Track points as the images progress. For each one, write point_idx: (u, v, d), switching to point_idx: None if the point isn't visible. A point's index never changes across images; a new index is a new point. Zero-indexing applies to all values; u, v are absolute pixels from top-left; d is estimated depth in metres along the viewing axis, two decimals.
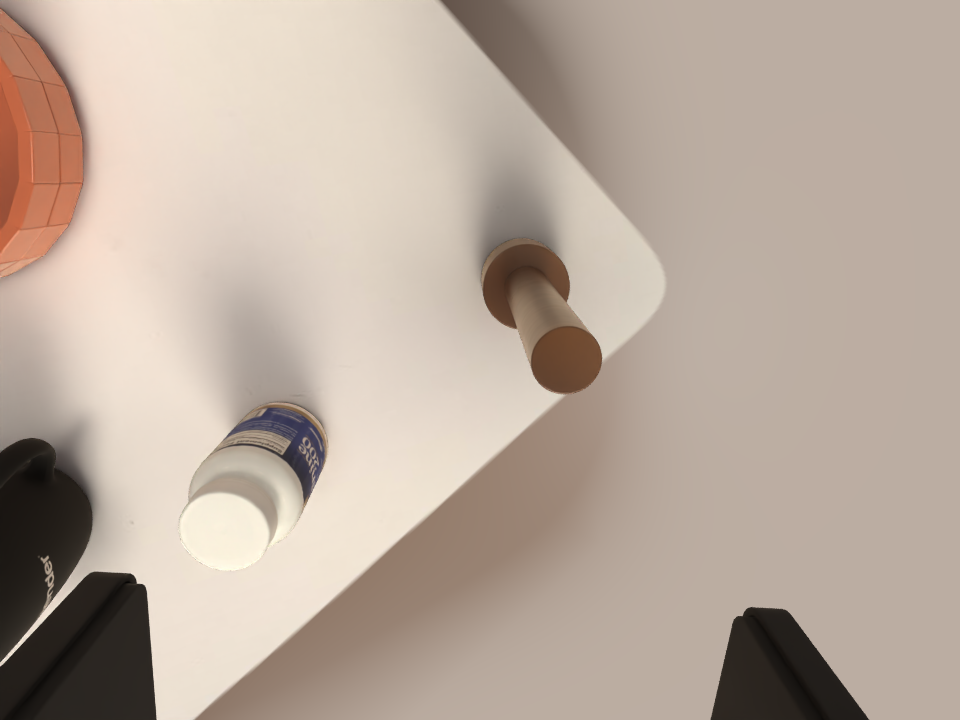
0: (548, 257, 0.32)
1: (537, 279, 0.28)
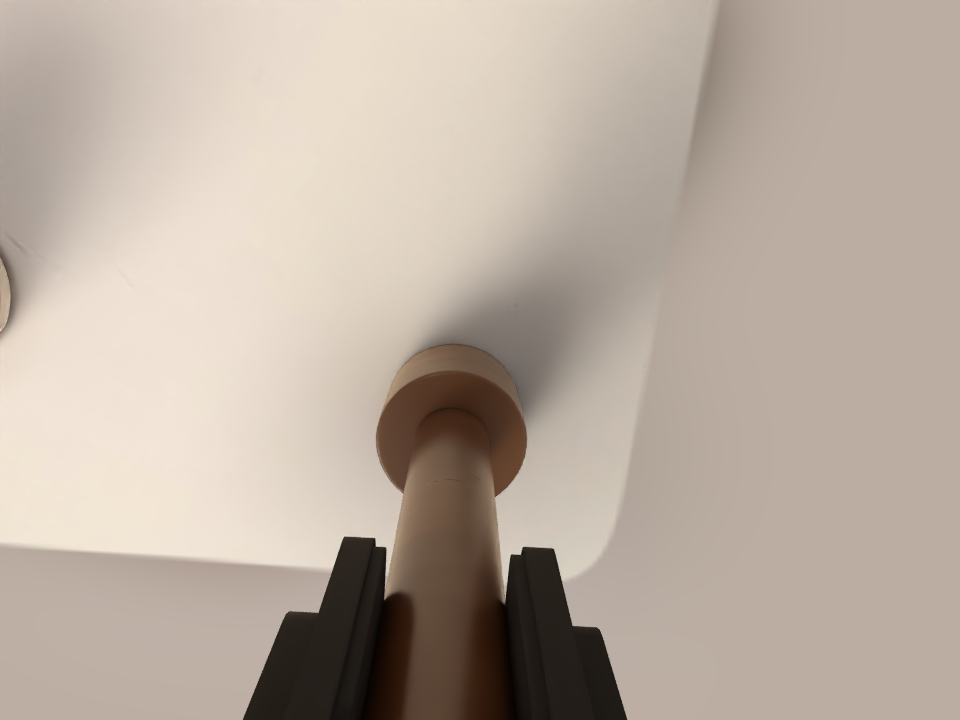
0: (515, 437, 0.18)
1: (487, 490, 0.14)
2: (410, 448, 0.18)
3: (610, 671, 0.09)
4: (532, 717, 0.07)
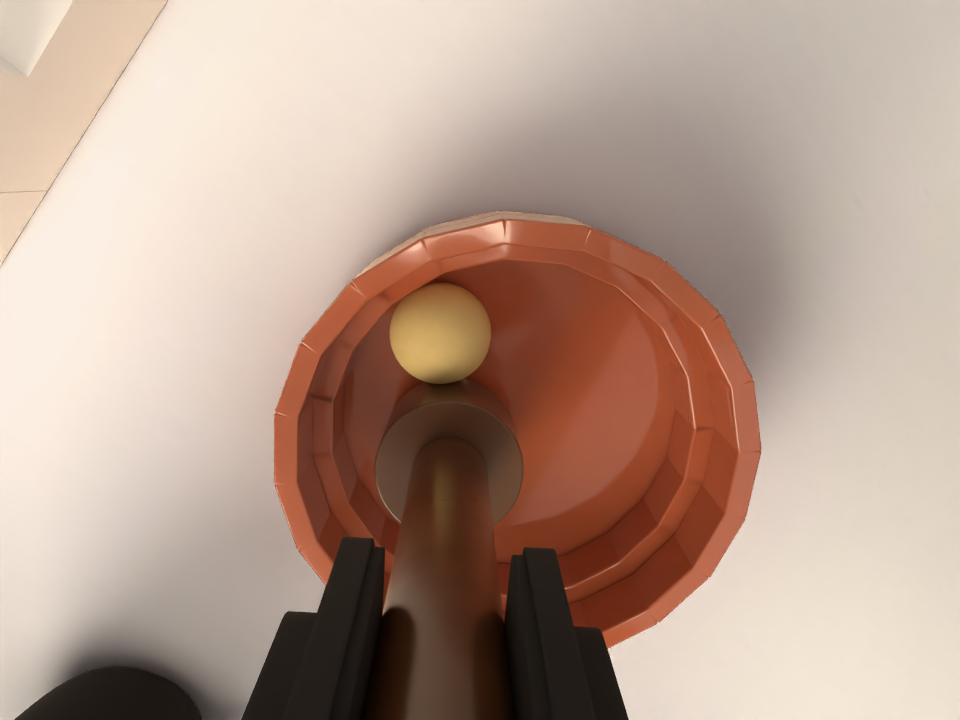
0: (511, 462, 0.19)
1: (482, 510, 0.14)
2: (408, 479, 0.19)
3: (611, 671, 0.09)
4: (534, 717, 0.07)
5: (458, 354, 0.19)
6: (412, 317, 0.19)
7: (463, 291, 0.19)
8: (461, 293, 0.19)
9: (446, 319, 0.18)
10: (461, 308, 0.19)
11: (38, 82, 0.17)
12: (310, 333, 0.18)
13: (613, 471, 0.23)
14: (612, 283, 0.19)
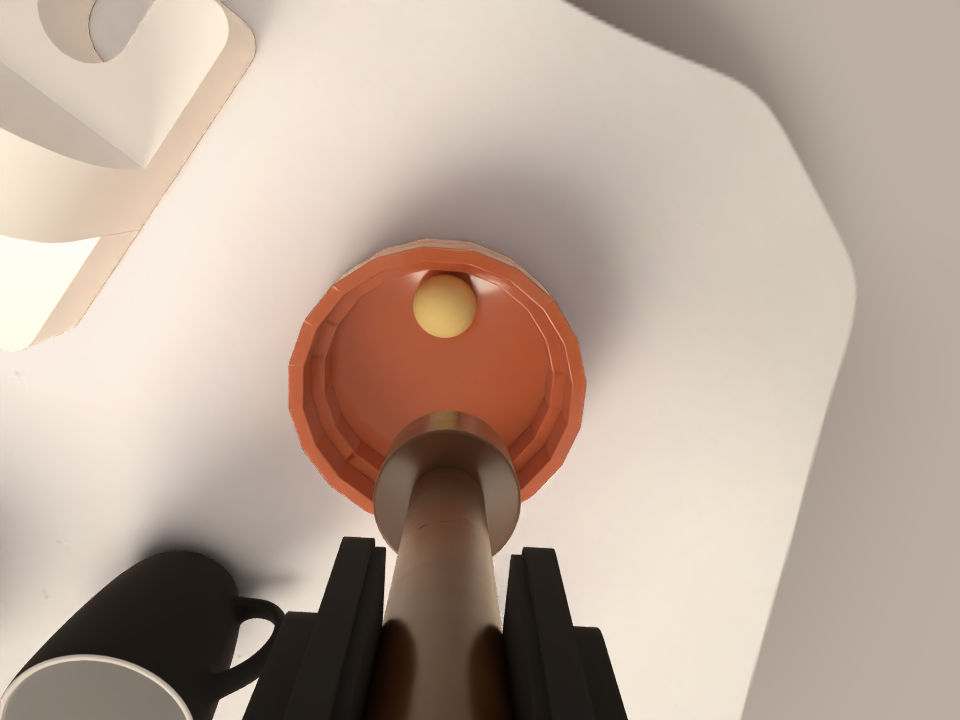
0: (508, 491, 0.19)
1: (480, 531, 0.15)
2: (407, 511, 0.19)
3: (611, 671, 0.09)
4: (533, 717, 0.07)
5: None
6: (454, 311, 0.31)
7: (444, 278, 0.31)
8: (448, 279, 0.31)
9: (465, 295, 0.31)
10: (460, 284, 0.31)
11: (148, 170, 0.29)
12: (310, 315, 0.30)
13: (510, 406, 0.35)
14: (495, 283, 0.31)
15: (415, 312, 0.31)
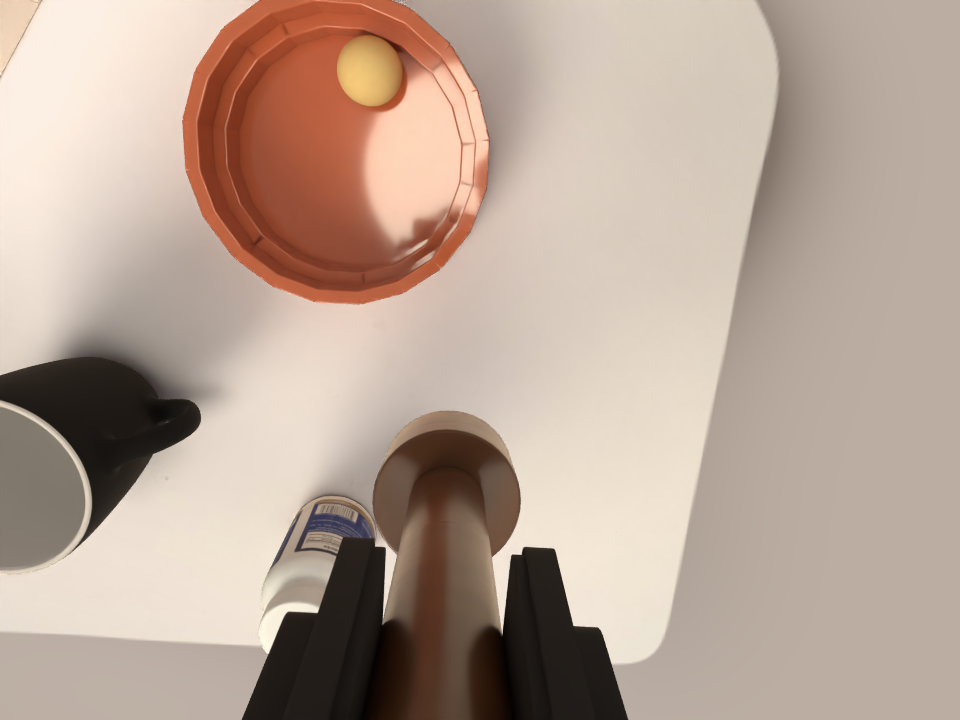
0: (508, 492, 0.19)
1: (480, 531, 0.15)
2: (406, 511, 0.19)
3: (611, 671, 0.09)
4: (533, 717, 0.07)
5: None
6: (396, 68, 0.31)
7: (374, 36, 0.31)
8: None
9: None
10: (389, 44, 0.31)
11: None
12: (200, 63, 0.29)
13: (425, 194, 0.35)
14: (396, 41, 0.31)
15: (351, 72, 0.30)
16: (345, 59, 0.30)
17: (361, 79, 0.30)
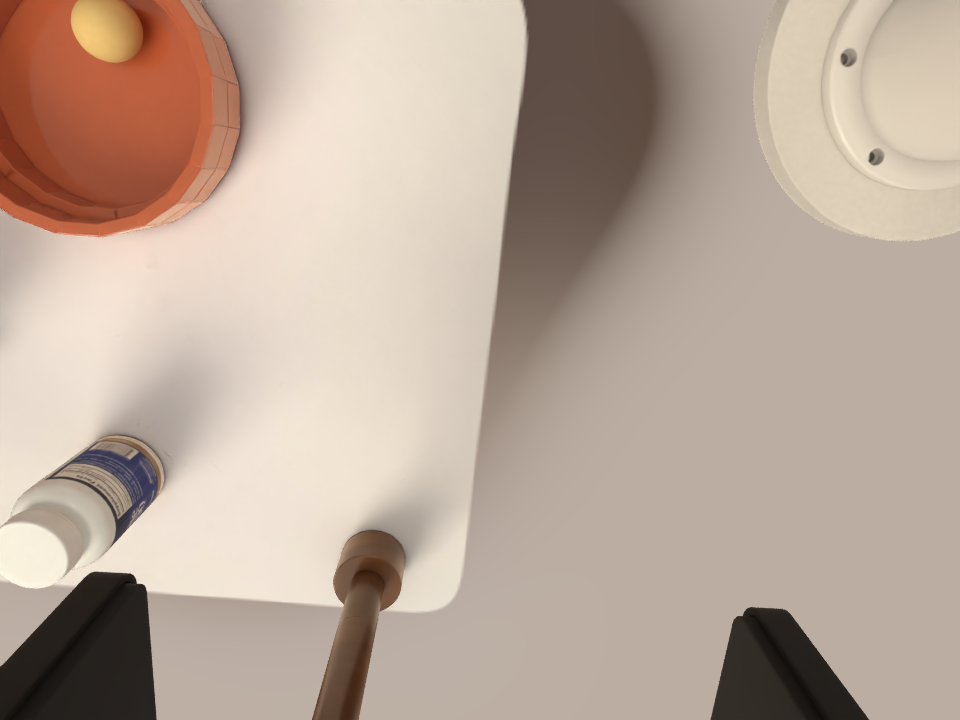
0: (395, 580, 0.41)
1: (370, 617, 0.37)
2: (349, 588, 0.41)
3: None
4: None
5: (137, 16, 0.33)
6: (127, 35, 0.32)
7: None
8: (103, 1, 0.31)
9: (128, 14, 0.32)
10: (117, 3, 0.31)
11: None
12: None
13: (183, 135, 0.35)
14: None
15: (83, 43, 0.32)
16: (75, 29, 0.31)
17: (95, 51, 0.32)
